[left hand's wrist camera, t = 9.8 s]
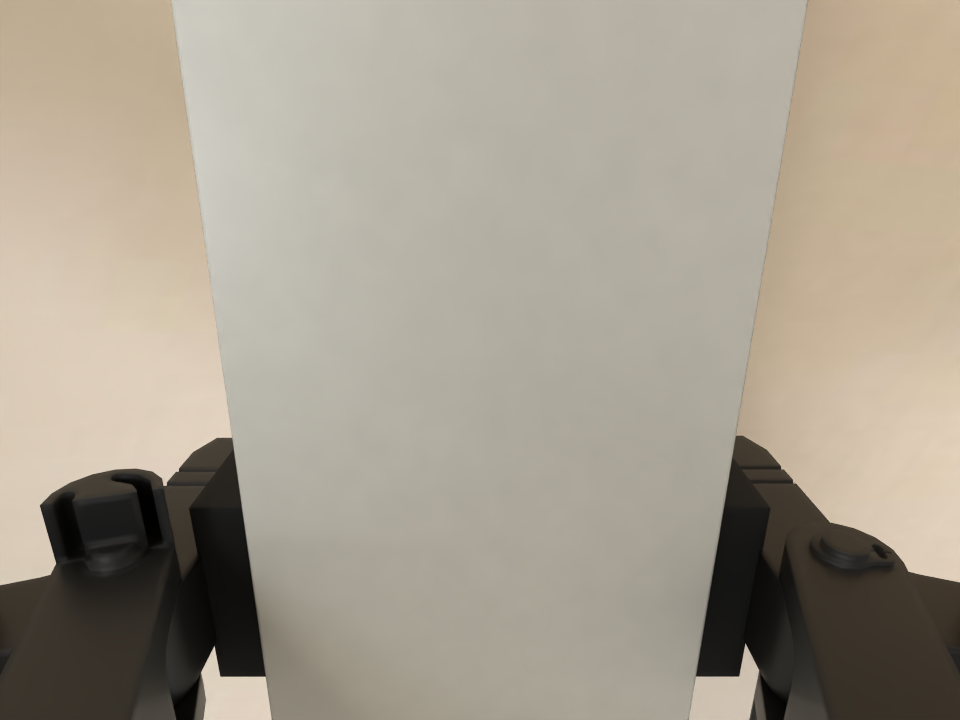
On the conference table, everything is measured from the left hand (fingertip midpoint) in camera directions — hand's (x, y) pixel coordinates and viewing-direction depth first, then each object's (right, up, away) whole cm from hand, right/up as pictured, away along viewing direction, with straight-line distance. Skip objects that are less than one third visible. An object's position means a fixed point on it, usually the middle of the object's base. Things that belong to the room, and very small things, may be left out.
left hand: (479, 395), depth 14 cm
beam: (0, +28, -10) cm, 29 cm away
